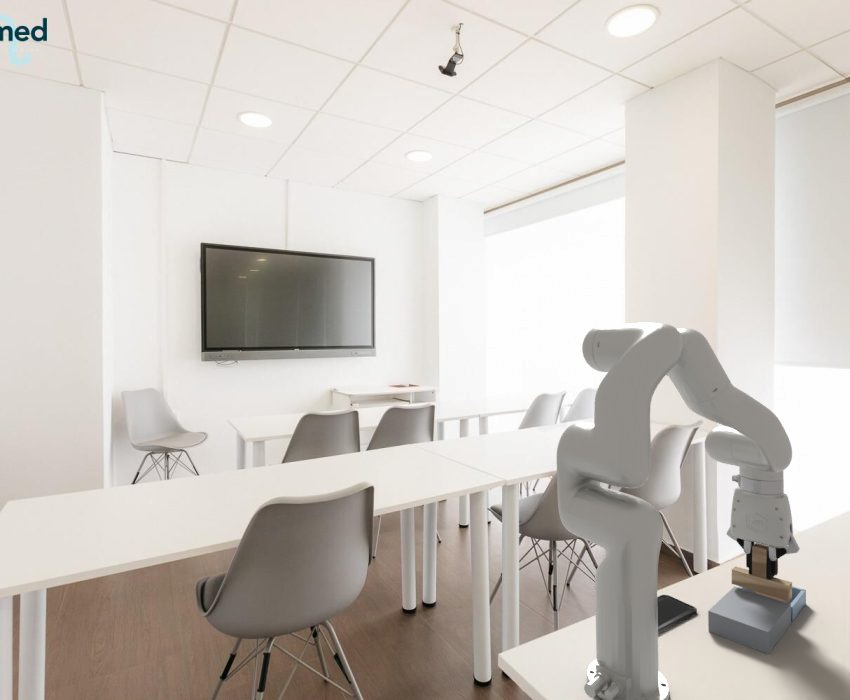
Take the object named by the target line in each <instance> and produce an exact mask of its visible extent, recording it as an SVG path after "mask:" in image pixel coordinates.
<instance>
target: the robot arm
mask: <svg viewBox="0 0 850 700" xmlns="http://www.w3.org/2000/svg"><path fill="white" fill-rule="evenodd" d="M581 350H582V356H583V358H584V360H585V362H586V363H587V365H588V366H589V367H591V368H592V369H593V370H595V371H597V372H602V373H606V374H605V376H604V377H603V378H602V380H601V382H600V383H599V385H598V387H597V391H596V394H595V397H594V419H593V422H584V421H583V422H576V423H572V424H571V425H570V426H568V427H567V428H566V429H565V430H564V431H563V433H562V434H561V436H560V438H559V442H558V443H557V448H556V479H557V480H556V481H557V482H556V483H557V505H558V515H559V518H560V521H561V524H562V525H563V527H564V528H565V529H566V530H567V531H568V532H570V533H571V534H573V535H575V536H576V537H579V538H581V539H583V540H586V541H587V542H590V543H593V544H595V545H597V546H599V547H600V548H603V549H604V550H605V557H604V558H603V559H602V561H601V562H600V563H599V565H598V566H597V568H596V571H595V574H594V575H595V577H594V589H595V590H594V591H595V639H596V640H595V642H596V643H595V644H596V645H595V647H596V649H595V650H596V651H595V652H596V659H595V660H594V659H593V661H592V662H590V664H589V665H588V666H587V667H588V668H587V670H586V675H587V676H586V680H587V683H585V685H584V686H583V687H584V688H583V689H584V692H585V694H586V695H587V696H588V697H589V698H591V699H592V698H595V697H596V696H597V697H598V698H599V699H601V700H669V698H670V685H669V683H668V680H667V679H666V678H665V676H664V675H663V673H661V672H660V671H659V634H658V606H657V597H658V570H659V569H658V568H659V567H658V566H659V558H660V551H661V546H662V543H663V538H664V528H665V527H664V520H663V518H662V515H661V513H660V512H659V510H658V509H657V508H656V507H655V506H654V505H653V504H651V503H650V502H649V501H646V500H645V499H643V498H641V497H638V496H635V495H632V494H629V493H626V492H622V491H619V490H615V489H612V488H607V487H603V486H601V485H600V483H602V484H607V485H610V486H614V487H617V488H618V487H619V488H623V489H637V488H641V487H642V486H644V485H645V484H646V482H647V481H648V480H649V478H650V475H651V469H652V466H651V465H652V447H651V446H652V442H651V441H652V439H651V437H652V436H651V404H652V398H653V396H654V393H655V391H656V389H657V388H658V386H659V384H660V383H661V382H662V380H663V379H664V378H665V376H668V377H669V379H670V381H671V382H672V383H673V386H674V387H675V389H676V390H677V391H678V393H679V395H680V396H681V398H682V400H683V401H684V403H685V405H686V406H687V408H688V409H689V410H690V411H692V412H693V413H695V414H696V415H697V416H700V417H703V418H705V419H707V420H709V421H711V422H714V423H716V424H719V426H717V427H714V428H713V429H711V430H710V431H709V432H708V433H707V435H706V436H705V440H704V448H705V451H706V453H707V454H708V456H709V457H710V458H711V459H712V460H714V461H715V462H719V463H721V464H726V465H731V466H736V467H739V473H738V474H736V475H735V474H732V476H731V481H732V482H735V483H737V484H738V487H735V488H734V491H733V497H732V502H731V511H730V526H729V528H728V530H727V531H726V535H727V537H729V538H731V539H732V540H733V541H735V542H736V543H737V544H738V545H739V547H741V549H743V552H744V554H746V555H745V556H746V557H745V560H746V562H745V564H746V565H745V566H746V568H747V569H748V570H749V574H752V546H753V545H754V544H755V543H758V544H762V545H766V546H769V556H768V559H767V579H769V580H771V579H772V578H773V577H775V576H777V575H778V573H779V561H778V560H779V559H780V558H781V557H782V558H783V556H785V555H790V554H797V553H798V552H799V551H801V550H800V547H799V544H798V542H797V540H796V539H795V537H794V527H793V526H794V525H793V517H792V511H791V504H790V500H789V496H788V494H786V493H784V492H785V491H784V490H785V489H784V487H785V486H784V482H785V479H784V471H785V470H786V469H787V468H788V467H789V466H790V464H791V461H792V459H793V449H792V444H791V440H790V438H789V436H788V434H787V432H786V430H785V428H784V426H783V424H782V422H781V421H780V419H779V418H778V417H777V415H776V414H775V413H774V412H773V411H772V410H771V409H770V408H768V407H767V406H766V405H764V404H763V403H761V402H760V401H758V400H757V399H756V398H754V397H752V396H751V395H749V394H748V393H746V392H745V391H743V390H741V389H739V388H737V387H736V386H734V384H732V382H731V380H730V378H729V376H728V374H727V373H726V371H725V369H724V368H723V365H722V364H721V362H720V361H719V358H718V357H717V355H716V354H715V351H714V349H713V348H712V346H711V345H710V343H709V341H708V339H707V337H706V336H705V335H704V334H702V332H700V331H697V330H695V329H692V328H686V327H685V328H684V327H680V328H679V327H675V326H672V325H671V324H666V323H663V322H662V323H660V322H636V323H633V322H632V323H620V324H614V323H613V324H601V325H598V326H596V327H593V328H592V329H591V330H589V331H588V332H587V334H586V335H585V337H584V338H583V341H582V348H581Z"/></svg>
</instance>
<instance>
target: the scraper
mask: <svg viewBox="0 0 850 700" xmlns="http://www.w3.org/2000/svg"><path fill="white" fill-rule="evenodd" d="M768 556H769V546H767V545H763V544H759V543H755V544H754V545H753V546H752V574H749V569H748V568H747V569H746V568H744V567H740V566H737V565H736V566H734V567H733V568H731V585H734V586H735V585H736V587H737V586H738V587H739V586H741V587H744V588H747V589H750V590H753V591H757V592H760V593H763V594H766V595H770V596H773V597H776V598H779V599H782V600H786V601H789V600H790V599H791V598H792V586H793V582H791V581H789V580H785V579H781V578H778V577H775V576H774V577H773V578H772V579H771V580H769V579H767V559H768Z"/></svg>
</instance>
